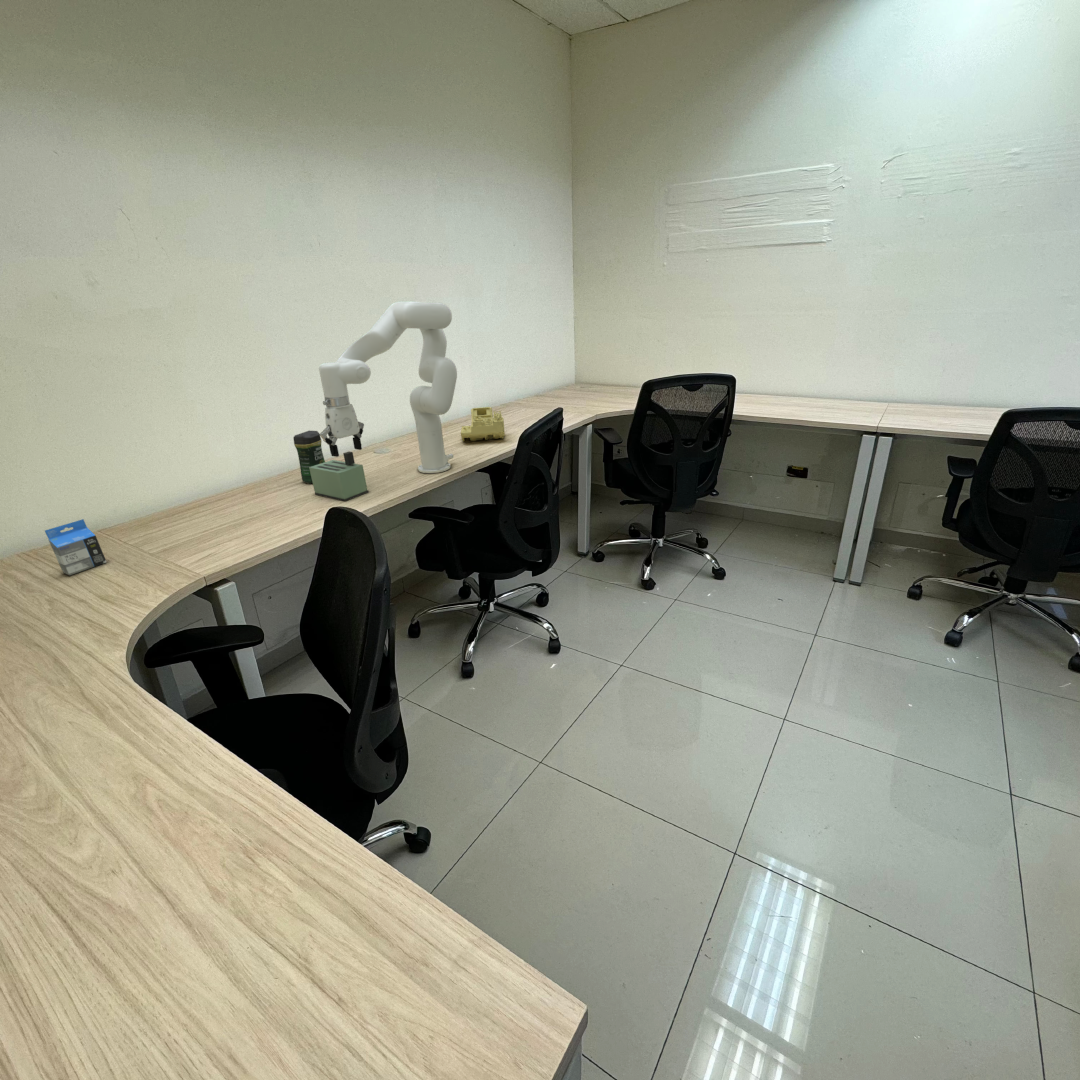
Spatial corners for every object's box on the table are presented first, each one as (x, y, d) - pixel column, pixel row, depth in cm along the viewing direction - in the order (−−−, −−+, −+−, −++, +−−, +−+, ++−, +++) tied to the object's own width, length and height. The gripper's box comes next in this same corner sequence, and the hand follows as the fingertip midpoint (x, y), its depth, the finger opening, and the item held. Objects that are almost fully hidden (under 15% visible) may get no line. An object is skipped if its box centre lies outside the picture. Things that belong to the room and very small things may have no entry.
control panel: (456, 405, 259) (498, 398, 261) (463, 436, 268) (503, 428, 269) (458, 424, 240) (503, 416, 241) (465, 456, 249) (508, 448, 250)
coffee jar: (316, 484, 205) (305, 435, 197) (299, 483, 207) (287, 434, 200) (333, 476, 213) (323, 429, 205) (316, 475, 216) (305, 428, 208)
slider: (351, 462, 192) (348, 451, 190) (354, 463, 191) (352, 452, 189) (345, 464, 190) (343, 453, 188) (349, 465, 189) (347, 453, 187)
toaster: (338, 485, 202) (332, 459, 198) (368, 492, 194) (362, 464, 190) (315, 494, 195) (308, 467, 191) (345, 501, 187) (339, 472, 182)
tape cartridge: (69, 576, 144) (49, 533, 139) (63, 573, 146) (43, 530, 141) (107, 562, 151) (89, 521, 146) (101, 559, 153) (83, 518, 148)
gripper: (322, 407, 173) (333, 460, 180) (365, 398, 186) (374, 447, 193) (307, 405, 177) (318, 457, 184) (351, 396, 190) (359, 445, 197)
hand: (347, 452), depth 188 cm, fingers open, 9 cm apart
